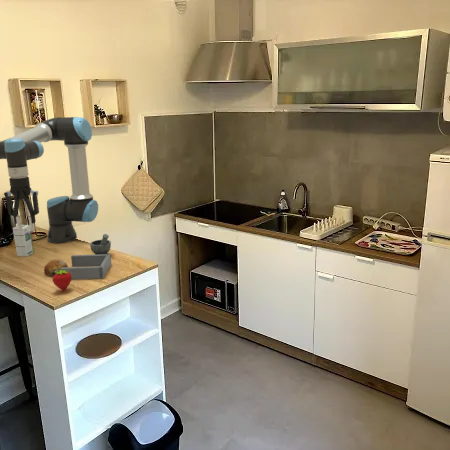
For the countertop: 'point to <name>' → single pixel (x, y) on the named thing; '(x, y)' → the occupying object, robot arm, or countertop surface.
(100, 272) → the box
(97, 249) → the mortar and pestle
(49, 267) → the bread roll
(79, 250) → the countertop surface
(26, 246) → the syrup box
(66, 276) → the strawberry
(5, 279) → the countertop surface
